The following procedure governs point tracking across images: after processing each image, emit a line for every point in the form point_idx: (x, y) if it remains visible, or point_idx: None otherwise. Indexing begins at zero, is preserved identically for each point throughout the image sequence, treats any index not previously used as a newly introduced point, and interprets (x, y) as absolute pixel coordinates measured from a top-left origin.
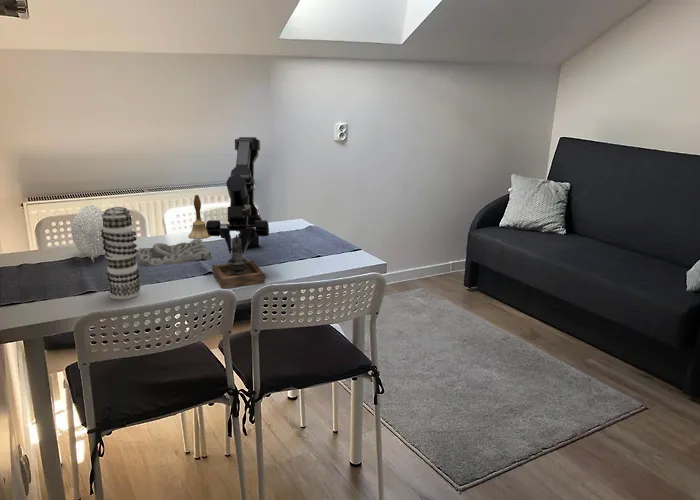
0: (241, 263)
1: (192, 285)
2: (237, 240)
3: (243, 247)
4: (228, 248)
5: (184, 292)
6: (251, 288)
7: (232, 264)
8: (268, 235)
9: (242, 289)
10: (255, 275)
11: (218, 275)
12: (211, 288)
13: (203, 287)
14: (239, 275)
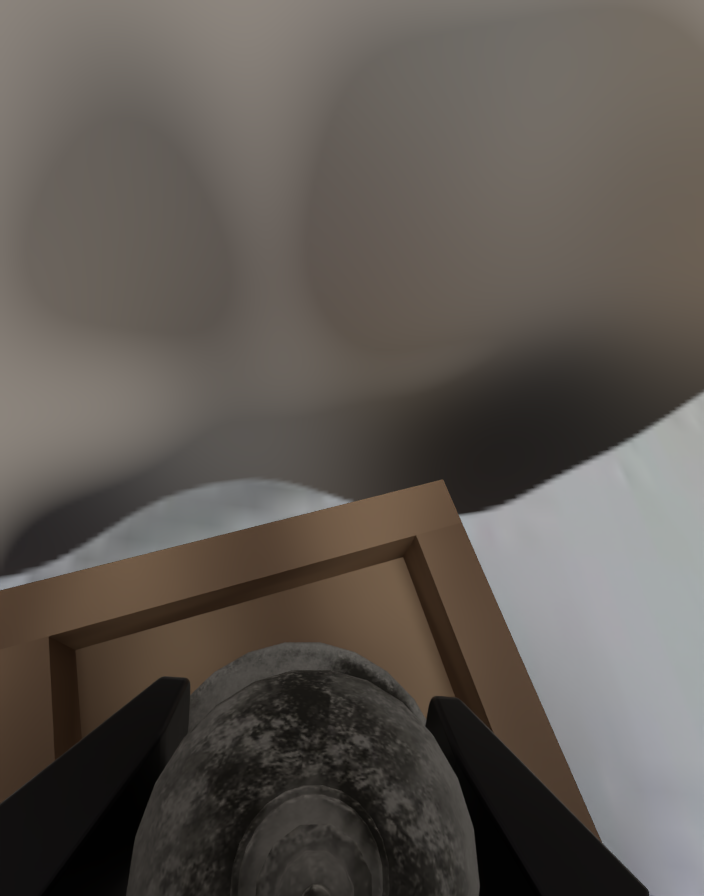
0: (237, 662)
1: (682, 619)
2: (276, 687)
3: (133, 728)
4: (497, 742)
5: (676, 479)
6: (180, 497)
7: (365, 662)
8: None
9: (256, 484)
10: (99, 570)
11: (495, 609)
12: (506, 533)
13: (576, 562)
14: (275, 558)
